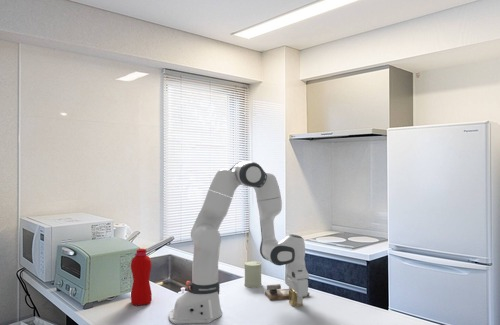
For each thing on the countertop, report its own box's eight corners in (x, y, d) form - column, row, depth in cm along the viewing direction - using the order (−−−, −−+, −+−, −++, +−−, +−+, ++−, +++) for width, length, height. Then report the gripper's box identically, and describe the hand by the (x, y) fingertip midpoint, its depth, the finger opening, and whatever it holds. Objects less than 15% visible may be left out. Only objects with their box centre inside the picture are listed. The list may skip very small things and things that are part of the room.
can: (261, 287, 201) (261, 264, 201) (244, 287, 201) (244, 264, 201) (261, 282, 210) (261, 260, 210) (244, 282, 210) (244, 260, 210)
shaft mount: (270, 300, 182) (270, 288, 182) (264, 294, 191) (264, 282, 191) (309, 296, 187) (309, 284, 187) (302, 290, 196) (302, 279, 196)
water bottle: (127, 300, 182) (126, 247, 182) (150, 298, 186) (150, 246, 186) (127, 307, 173) (127, 252, 173) (152, 304, 177) (152, 250, 177)
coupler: (292, 306, 174) (292, 293, 174) (288, 302, 179) (288, 289, 179) (302, 305, 176) (302, 292, 176) (299, 301, 180) (299, 289, 180)
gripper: (281, 264, 187) (281, 293, 187) (297, 276, 167) (297, 308, 167) (293, 263, 188) (294, 292, 188) (310, 275, 168) (310, 307, 168)
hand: (295, 299), depth 177 cm, fingers open, 7 cm apart
